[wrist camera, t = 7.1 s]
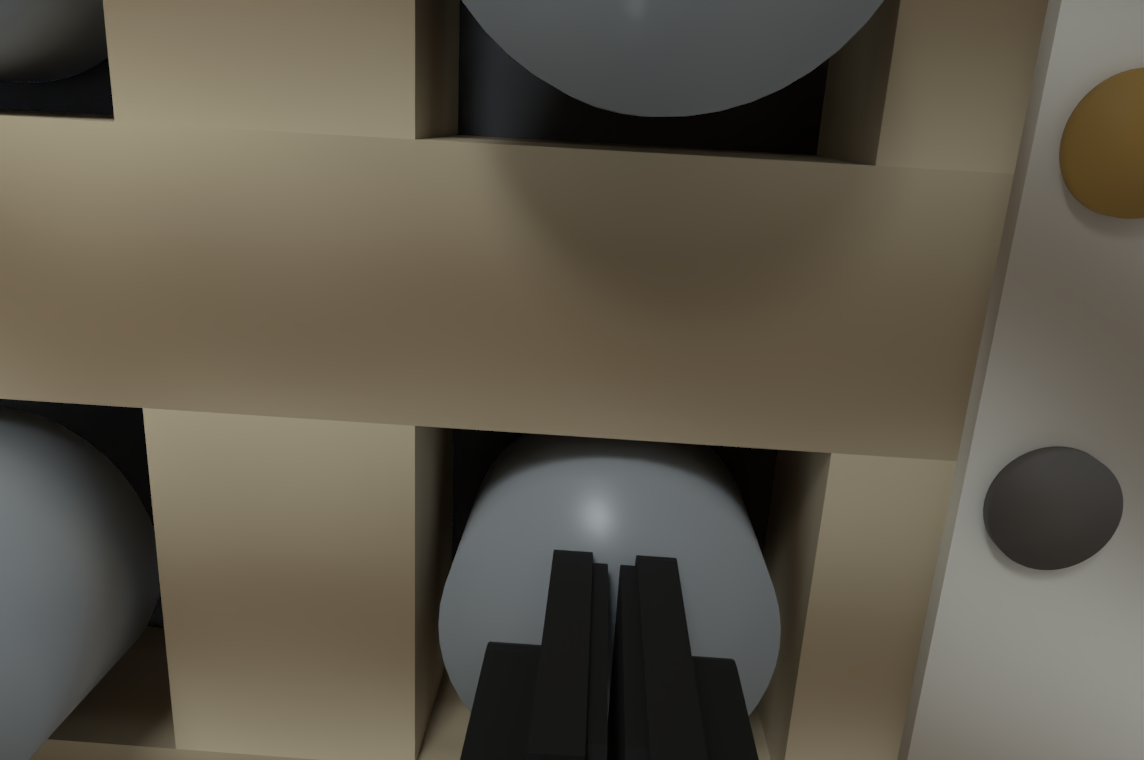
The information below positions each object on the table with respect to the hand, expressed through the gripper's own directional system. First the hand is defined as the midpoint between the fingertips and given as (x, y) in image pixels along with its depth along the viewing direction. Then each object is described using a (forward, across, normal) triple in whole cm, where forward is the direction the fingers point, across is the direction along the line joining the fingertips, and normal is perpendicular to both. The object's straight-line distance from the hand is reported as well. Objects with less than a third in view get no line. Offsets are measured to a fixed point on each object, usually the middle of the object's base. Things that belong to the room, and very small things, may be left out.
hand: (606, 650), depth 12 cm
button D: (+3, 0, 0) cm, 3 cm away
